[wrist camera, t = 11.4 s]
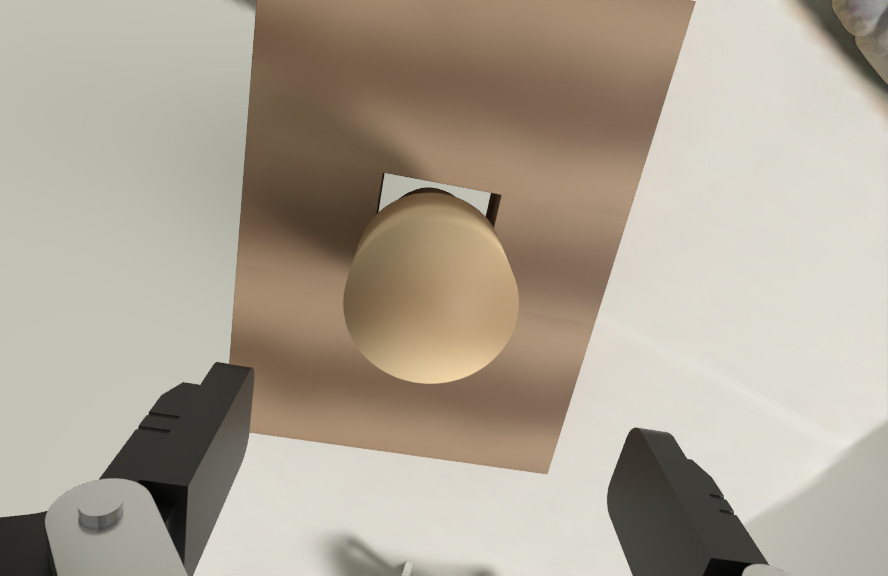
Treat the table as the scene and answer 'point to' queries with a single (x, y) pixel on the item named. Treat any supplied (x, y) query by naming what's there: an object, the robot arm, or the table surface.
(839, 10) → the decorative stone
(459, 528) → the table surface
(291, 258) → the wooden board with hole
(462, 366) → the oak peg
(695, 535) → the robot arm
